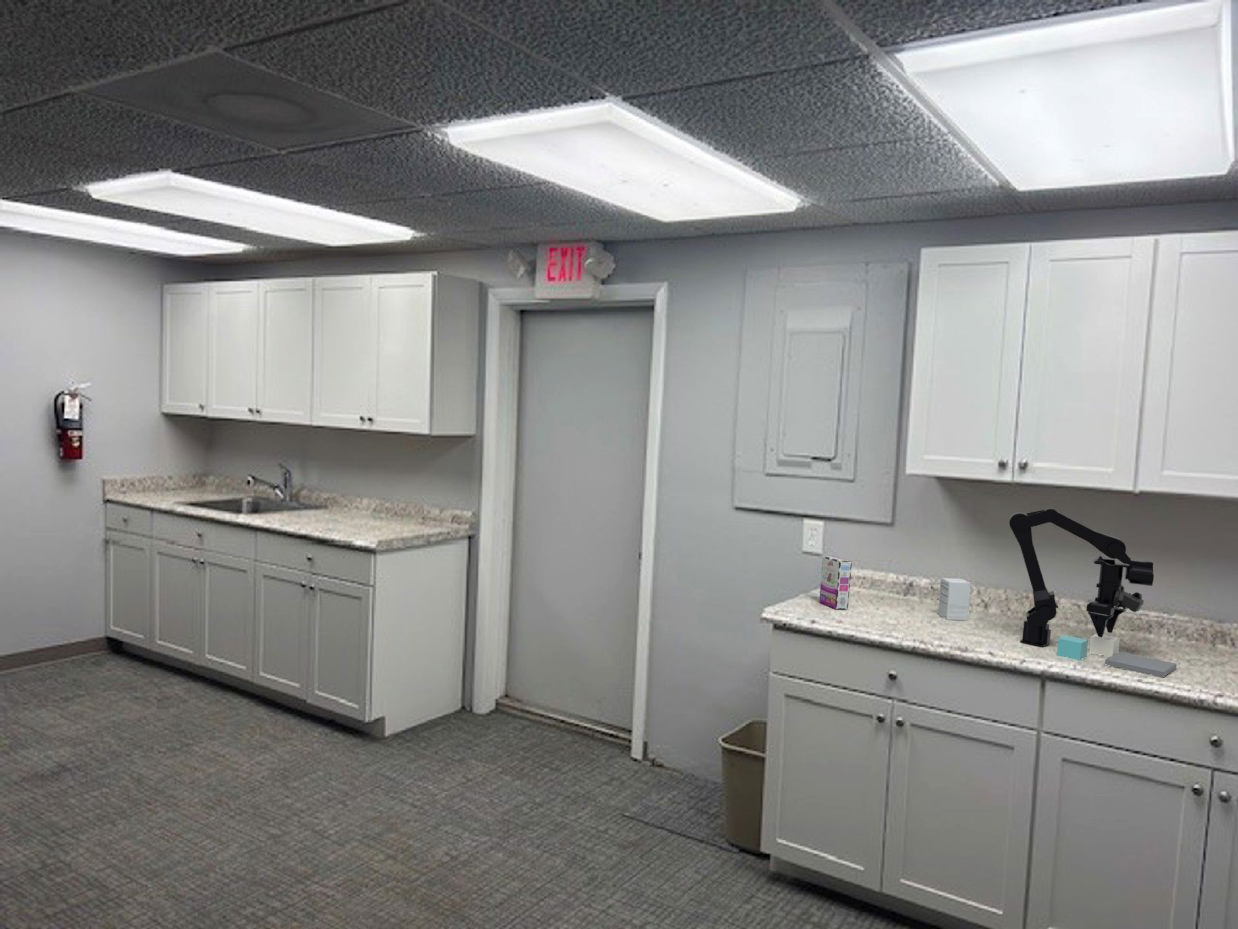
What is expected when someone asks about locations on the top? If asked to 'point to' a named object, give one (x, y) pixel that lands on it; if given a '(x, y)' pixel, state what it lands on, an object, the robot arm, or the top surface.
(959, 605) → the supplement box
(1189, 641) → the top surface
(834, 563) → the candy bar box
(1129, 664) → the baseplate
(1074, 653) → the teal brick
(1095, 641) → the cream brick
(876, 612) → the top surface
